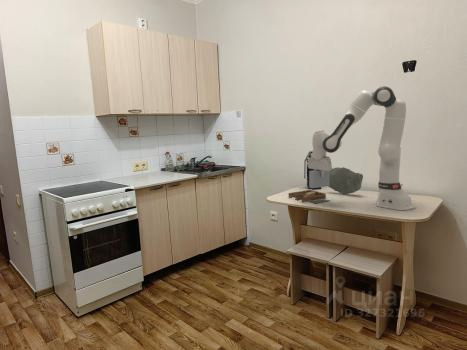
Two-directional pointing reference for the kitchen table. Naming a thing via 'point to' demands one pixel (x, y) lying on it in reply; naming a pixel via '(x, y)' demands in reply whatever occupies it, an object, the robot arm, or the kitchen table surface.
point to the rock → (344, 180)
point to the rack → (299, 196)
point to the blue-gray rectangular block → (318, 179)
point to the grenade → (308, 170)
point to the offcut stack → (308, 194)
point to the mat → (319, 201)
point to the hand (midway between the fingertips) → (319, 176)
